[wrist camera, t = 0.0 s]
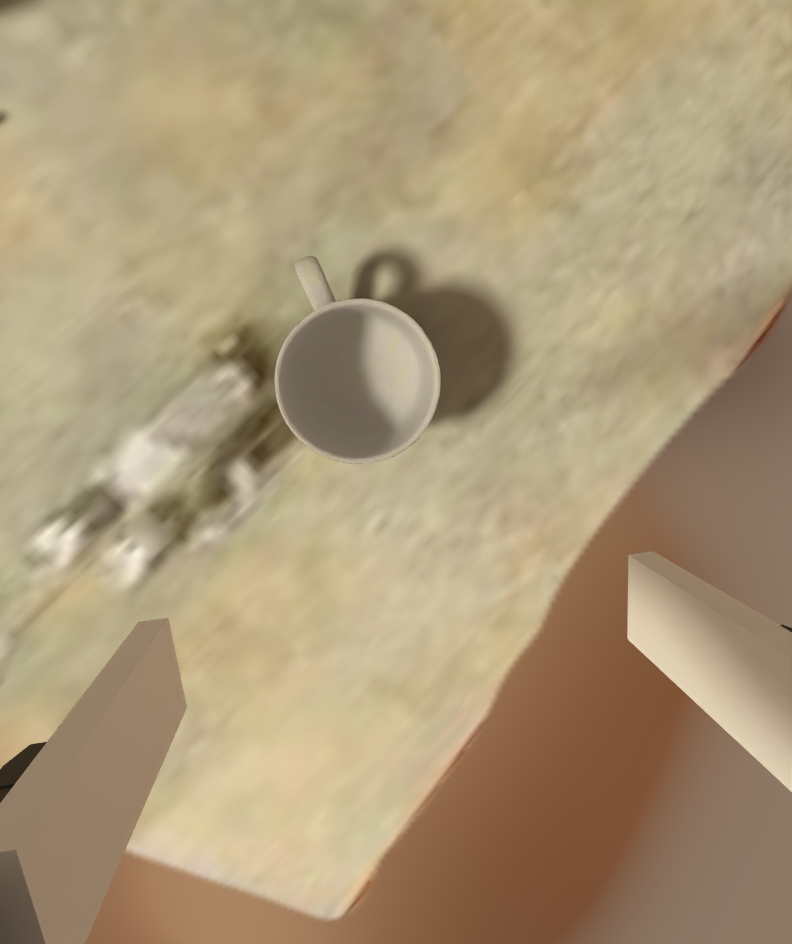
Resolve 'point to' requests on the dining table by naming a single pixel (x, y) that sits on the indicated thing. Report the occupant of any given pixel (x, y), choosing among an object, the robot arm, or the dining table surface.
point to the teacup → (355, 375)
